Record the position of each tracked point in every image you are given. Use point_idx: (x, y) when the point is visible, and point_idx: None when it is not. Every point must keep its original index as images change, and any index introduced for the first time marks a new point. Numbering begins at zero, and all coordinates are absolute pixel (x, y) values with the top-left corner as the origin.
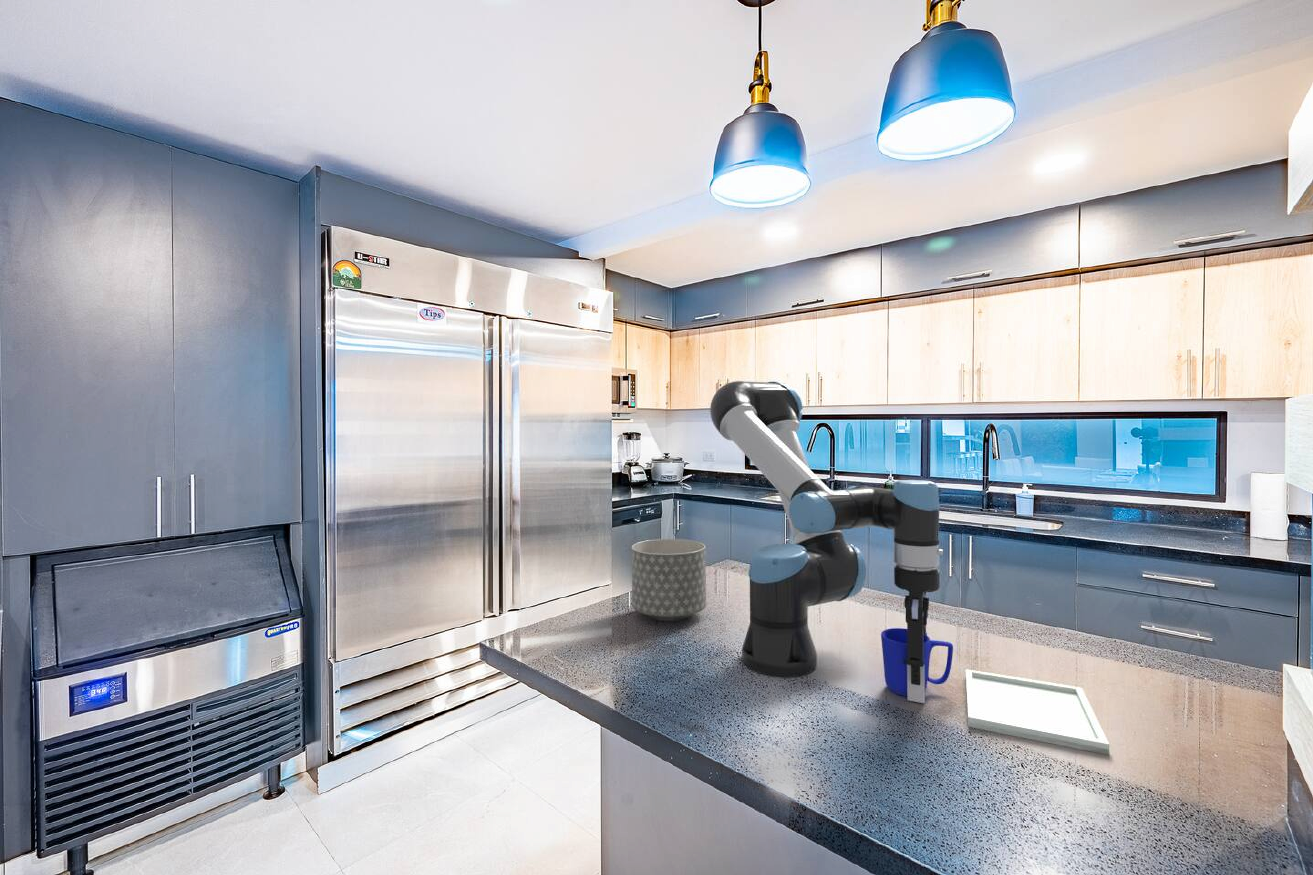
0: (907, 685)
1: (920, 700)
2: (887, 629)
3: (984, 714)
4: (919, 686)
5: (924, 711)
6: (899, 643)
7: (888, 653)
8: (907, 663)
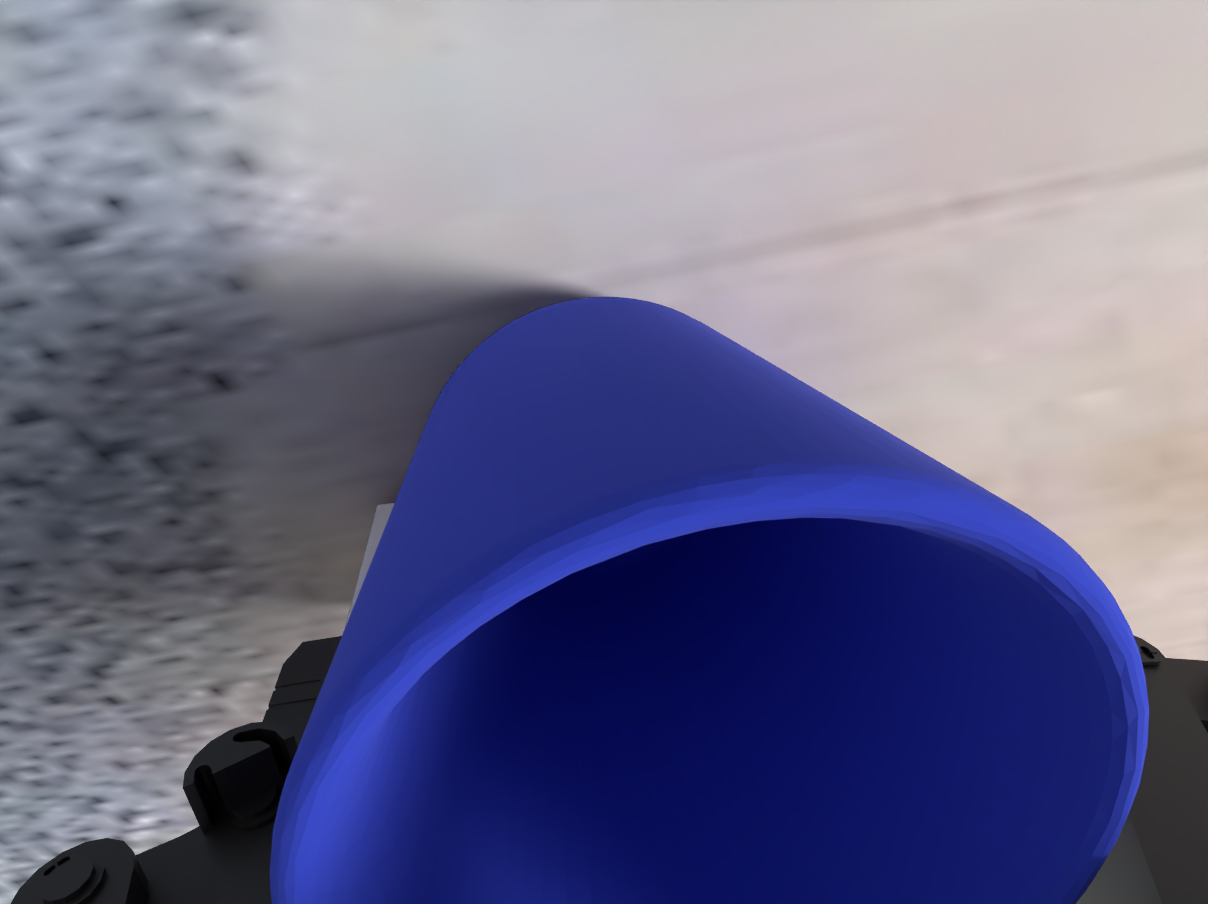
0: (360, 574)
1: None
2: (1012, 547)
3: None
4: None
5: (291, 622)
6: (278, 901)
7: (386, 538)
8: (28, 881)
